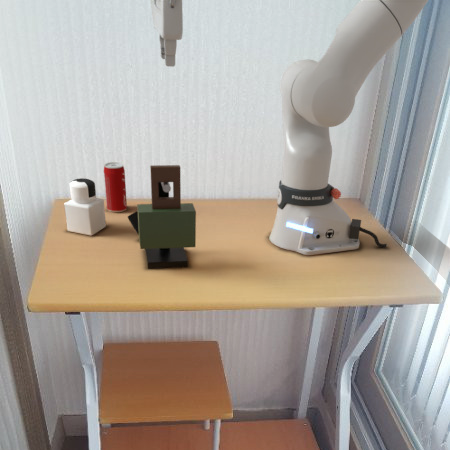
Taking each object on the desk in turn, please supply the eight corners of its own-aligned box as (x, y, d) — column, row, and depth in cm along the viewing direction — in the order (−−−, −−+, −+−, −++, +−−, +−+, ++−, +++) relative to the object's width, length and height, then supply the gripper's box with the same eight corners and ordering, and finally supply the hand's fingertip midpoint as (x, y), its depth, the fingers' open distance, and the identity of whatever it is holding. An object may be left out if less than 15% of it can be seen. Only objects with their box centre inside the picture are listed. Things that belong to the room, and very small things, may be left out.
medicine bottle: (82, 222, 151) (77, 174, 144) (106, 226, 150) (102, 178, 142) (67, 231, 146) (60, 182, 139) (91, 236, 144) (86, 187, 137)
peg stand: (182, 249, 140) (182, 167, 128) (188, 269, 131) (188, 183, 120) (144, 250, 138) (140, 167, 127) (148, 271, 130) (144, 183, 118)
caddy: (192, 238, 132) (192, 162, 122) (195, 247, 128) (196, 169, 118) (139, 240, 130) (134, 163, 120) (140, 249, 126) (136, 170, 116)
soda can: (128, 212, 158) (125, 166, 151) (107, 213, 157) (103, 167, 150) (126, 205, 163) (123, 160, 156) (106, 206, 162) (102, 161, 154)
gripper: (191, -24, 97) (190, 71, 105) (178, -28, 113) (178, 55, 121) (153, -26, 96) (155, 70, 104) (145, -29, 112) (147, 54, 120)
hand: (167, 62), depth 112 cm, fingers open, 8 cm apart
